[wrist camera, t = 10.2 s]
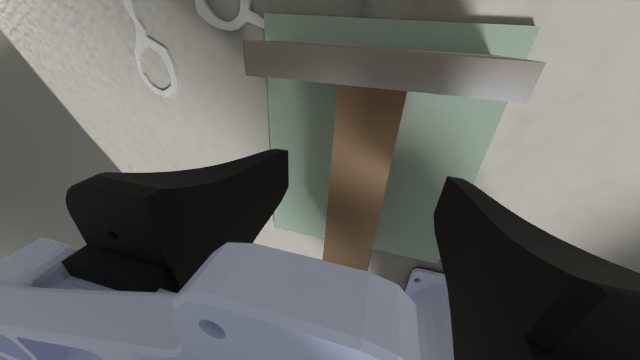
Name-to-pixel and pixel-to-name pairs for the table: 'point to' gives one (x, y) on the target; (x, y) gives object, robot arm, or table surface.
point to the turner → (379, 115)
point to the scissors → (164, 53)
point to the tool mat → (414, 131)
